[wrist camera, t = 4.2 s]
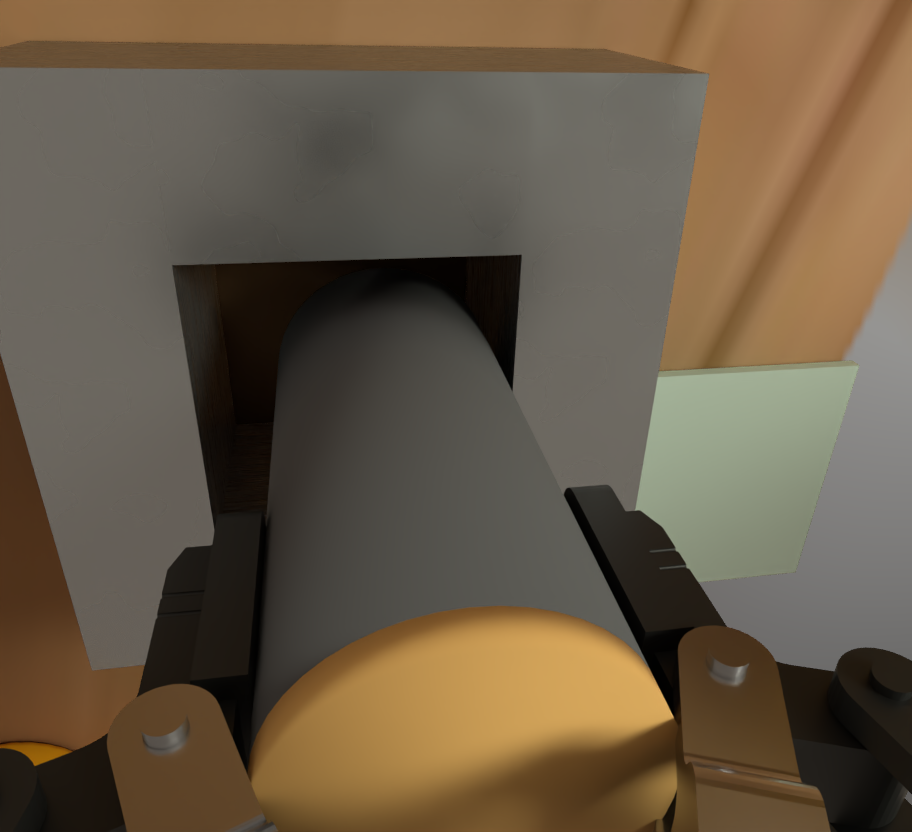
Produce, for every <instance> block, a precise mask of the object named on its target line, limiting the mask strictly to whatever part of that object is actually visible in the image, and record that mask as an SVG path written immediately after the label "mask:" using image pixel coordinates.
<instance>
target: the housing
mask: <svg viewBox="0 0 912 832" xmlns="http://www.w3.org/2000/svg"><path fill="white" fill-rule="evenodd" d="M708 78H709V74H708V73H704V72H700V71H695V70H691V69H687V68H683V67H678V66H674V65H670V64H666V63H662V62H657V61H653V60H649V59H645V58H641V57H636V56H632V55H628V54H624V53H619V52H615V51H611V50H607V49H559V48H488V47H417V46H345V45H274V44H202V43H131V42H60V41H26V42H22V43H17V44H13V45H9V46H4V47H0V354H1V358H2V361H3V364H4V368H5V371H6V375H7V378H8V382H9V385H10V389H11V392H12V396H13V399H14V402H15V406H16V409H17V413H18V416H19V420H20V423H21V427H22V430H23V434H24V437H25V441H26V444H27V447H28V451H29V454H30V458H31V461H32V465H33V468H34V472H35V475H36V479H37V482H38V486H39V489H40V492H41V496H42V499H43V503H44V506H45V510H46V513H47V517H48V520H49V524H50V527H51V530H52V534H53V537H54V541H55V544H56V548H57V551H58V555H59V558H60V562H61V565H62V569H63V572H64V575H65V579H66V582H67V586H68V589H69V593H70V596H71V600H72V603H73V607H74V610H75V613H76V617H77V620H78V624H79V627H80V631H81V634H82V638H83V641H84V645H85V648H86V652H87V655H88V658H89V662H90V665H91V669H92V670H101V669H110V668H119V667H128V666H138V665H145V663H146V658H147V654H148V650H149V646H150V641H151V637H152V633H153V629H154V624H155V620H156V619H157V612H158V607H159V603H160V599H162V590H163V586H164V582H165V578H166V573H167V570H168V568H169V567H170V566H171V565H172V563H173V562H174V561H175V560H176V559H177V557H178V556H179V555H180V554H181V553H182V551H183V550H184V549H185V548H186V547H197V546H209V545H212V543H213V537H214V531H215V525H216V519H217V516H218V514H226V513H239V512H252V511H263V512H264V515H265V521H266V518H267V505H268V492H269V479H270V465H271V452H272V439H273V426H274V422H269V423H253V424H237V425H236V422H235V414H234V407H233V399H232V392H231V384H230V376H229V369H228V361H227V354H226V346H225V339H224V331H223V324H222V316H221V309H220V301H219V293H218V286H217V278H216V271H215V264H232V263H265V262H299V261H332V260H365V259H399V258H432V257H465V256H467V262H466V293H465V303H466V304H467V305H468V307H469V308H470V310H471V311H472V312H473V314H474V315H475V317H476V319H477V321H478V323H479V325H480V327H481V329H482V331H483V333H484V335H485V337H486V339H487V342H488V344H489V346H490V348H491V350H492V352H493V354H494V356H495V358H496V360H497V362H498V364H499V366H500V368H501V370H502V372H503V374H504V376H505V378H506V380H507V382H508V384H509V386H510V388H511V390H512V392H513V394H514V396H515V398H516V400H517V402H518V404H519V406H520V408H521V410H522V412H523V414H524V416H525V418H526V420H527V422H528V424H529V426H530V428H531V430H532V432H533V434H534V436H535V438H536V440H537V442H538V444H539V446H540V448H541V450H542V453H543V455H544V457H545V459H546V461H547V463H548V465H549V467H550V469H551V471H552V473H553V475H554V477H555V479H556V481H557V483H558V485H559V487H560V489H561V491H562V493H563V495H564V492H565V490H566V488H570V487H582V486H595V485H609V486H610V487H611V488H612V489H613V491H614V493H615V494H616V496H617V498H618V499H619V501H620V503H621V504H622V506H623V508H624V509H625V511H635V509H636V503H637V497H638V491H639V485H640V480H641V474H642V468H643V462H644V456H645V450H646V444H647V438H648V432H649V426H650V420H651V414H652V409H653V403H654V397H655V391H656V385H657V379H658V373H659V367H660V361H661V355H662V349H663V344H664V338H665V332H666V326H667V320H668V314H669V308H670V302H671V296H672V290H673V284H674V279H675V273H676V267H677V261H678V255H679V249H680V243H681V237H682V231H683V225H684V219H685V214H686V208H687V202H688V196H689V190H690V184H691V178H692V172H693V166H694V160H695V154H696V148H697V143H698V137H699V131H700V125H701V119H702V113H703V107H704V101H705V95H706V89H707V83H708Z"/></svg>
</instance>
